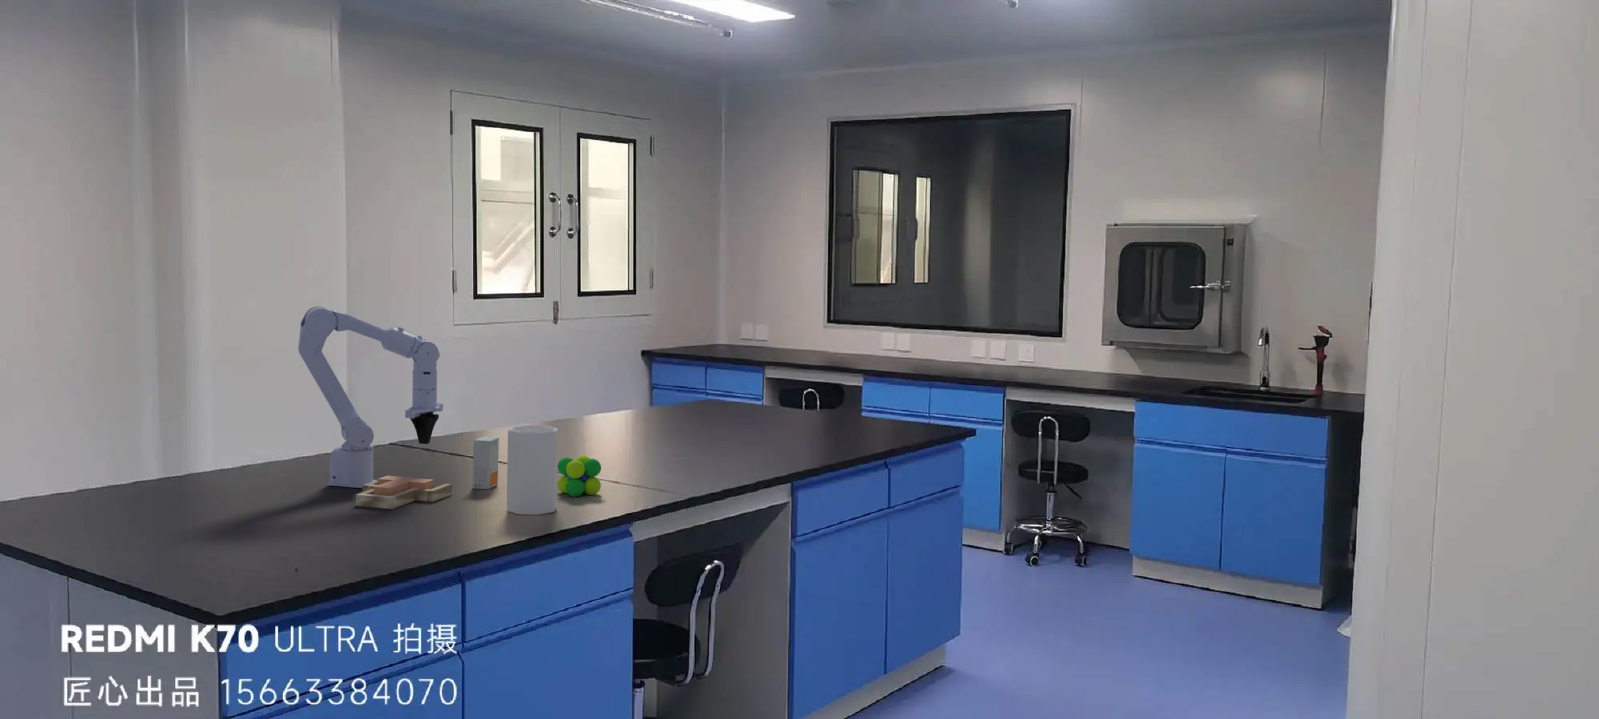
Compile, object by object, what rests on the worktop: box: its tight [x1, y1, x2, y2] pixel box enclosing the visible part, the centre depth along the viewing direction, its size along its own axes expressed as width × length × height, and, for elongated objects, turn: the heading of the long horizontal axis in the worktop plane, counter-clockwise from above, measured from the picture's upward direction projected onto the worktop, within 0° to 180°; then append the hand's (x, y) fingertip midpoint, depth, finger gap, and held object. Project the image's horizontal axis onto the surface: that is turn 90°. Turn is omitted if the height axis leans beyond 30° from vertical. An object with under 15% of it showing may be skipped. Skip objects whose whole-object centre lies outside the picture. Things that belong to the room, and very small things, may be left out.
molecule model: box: [557, 455, 602, 498], centre depth 276 cm, size 9×9×9 cm
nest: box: [355, 479, 453, 510], centre depth 263 cm, size 18×18×2 cm
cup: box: [506, 424, 559, 516], centre depth 256 cm, size 11×11×18 cm
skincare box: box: [472, 436, 500, 490], centre depth 279 cm, size 6×4×12 cm
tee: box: [374, 475, 435, 496], centre depth 263 cm, size 12×12×4 cm
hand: (424, 443), depth 283 cm, fingers closed
